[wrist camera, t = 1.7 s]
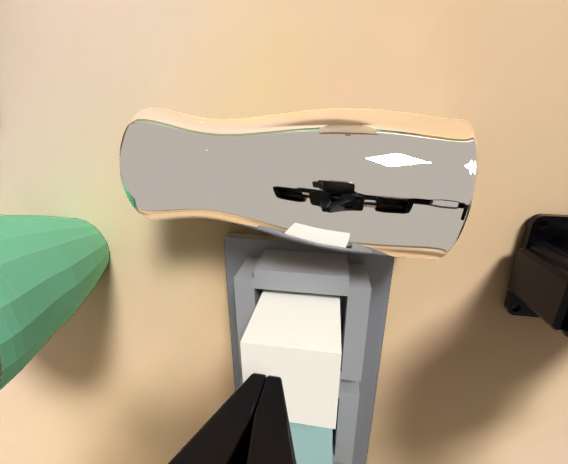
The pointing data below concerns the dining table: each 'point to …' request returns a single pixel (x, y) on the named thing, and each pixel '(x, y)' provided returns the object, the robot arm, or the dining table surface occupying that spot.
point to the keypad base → (353, 312)
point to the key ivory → (297, 351)
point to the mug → (42, 281)
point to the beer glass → (309, 176)
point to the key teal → (311, 444)
